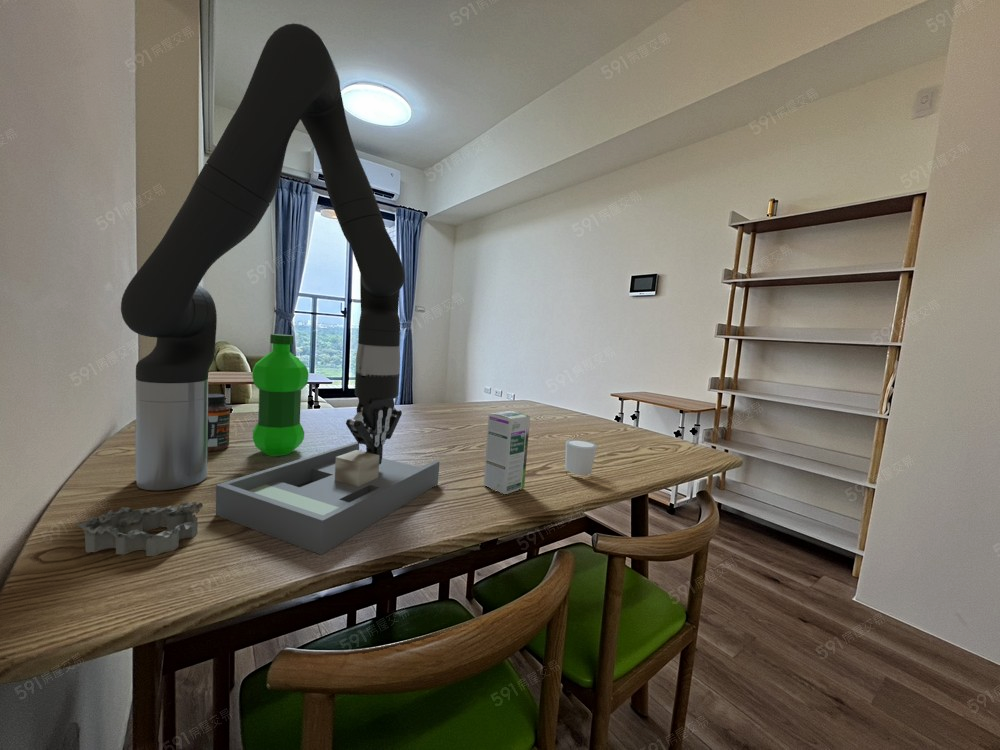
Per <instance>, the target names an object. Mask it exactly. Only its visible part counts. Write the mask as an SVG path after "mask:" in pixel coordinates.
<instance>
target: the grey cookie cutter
mask: <svg viewBox="0 0 1000 750" xmlns="http://www.w3.org/2000/svg"><path fill="white" fill-rule="evenodd" d="M203 507H204V505H203V503H202V502H198V503H197V502H196V501H193V502H188V501H186V502H183V503H182V502H181V503H180V504H179V505H178V506H174V505H168V506H166V507H161V508H160V507H156V506H153V507H146V508H144V507H143V508H137V509H135V510H133V509H132V507H128V506H127V507H126V506H125V507H124V506H121V507H120V508H119V509H118V511H116V512H115V511H114V509H110V510H108V512H107V513H102V514H99V515H98V516H95V517H93V516H92V517H90V518H89V520H87V521H84V522H77V523H75V525H76V526H78V527H79V528H80V529H82V530H84V546H85V547H84V548H85V553H90V552H94V553H97V552H100V551H103V550H106V549H115V555H127V554H129V553H131V552H135V551H141V550H142V551H143V550H144V551H145V556H146V557H147V556H148V557H155V556H157V555H159V554H163V553H167V552H173V551H175V550H177V549H178V548H180V546H179V545H180V543H179V542H180V540H183V539H186V538H193V537H195V536H196V535H198V533H199V532H198V531H199V530H198V517H197V516H196V514H198V513H199V512H200V510H202V509H203ZM158 528H166V530H163V531H162V532H158V533H157V534H150V533H148V532H147V531H148V530H149V531H150V530H155V529H158ZM145 530H146V531H145Z"/></svg>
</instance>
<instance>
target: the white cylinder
mask: <svg viewBox="0 0 1000 750" xmlns="http://www.w3.org/2000/svg"><path fill="white" fill-rule="evenodd" d="M597 447H598V445H597V444H596V443H594V442H591V441H588V440H582V439H567V440H566V441H565V449H564V450H565V453H564V454H565V456H564V457H565V458H564V459H565V461H564V470H565V469H566V470H567V471H569V472H571V473H574V474H578V475H588V474H591V475H592V472H593V466H594V462H595V457H596V454H597Z"/></svg>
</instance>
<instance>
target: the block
mask: <svg viewBox="0 0 1000 750" xmlns="http://www.w3.org/2000/svg"><path fill="white" fill-rule="evenodd" d="M379 456H380V455H376V454H372V453H368V452H366V451H363V450H360V449H359V450H355V451H352V452H349V453H346V454H343V455H340V456H337V457H336V463H335V480H336V481H340V482H343V483H347V484H351V485H355V486H358V487H359V486H361V485H363V484H365V483H367V482H370V481H372V480H374V479H376V478H378V473H379Z"/></svg>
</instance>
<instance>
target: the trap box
mask: <svg viewBox="0 0 1000 750" xmlns="http://www.w3.org/2000/svg"><path fill="white" fill-rule="evenodd" d="M355 450H359V451H360V444H359V443H358V442H357V441H354V442H352V443H348V444H345V445H342V446H338V447H335V448H332V449H329V450H324V451H321V452H319V453H316V454H315V453H314V454H312V455H309V456H306V457H302V458H299V459H295V460H292V461H289V462H287V463H283V464H280V465H279V464H278V465H277V466H273V467H270V468H266V469H263V470H260V471H257V472H256V471H255V472H254V473H250V474H247V475H243V476H241V477H237V478H234V479H231V480H227V481H224V482H221V483H217V484H216V485H215V516H218V517H219V518H223V519H225V520H227V521H230V522H233V523H236V524H239V525H241V526H245V527H247V528H249V529H252V530H254V531H258V532H260V533H263V534H265V535H268V536H269V537H272V538H275V539H279V540H281V541H284V542H286V543H290V544H292V545H294V546H296V547H299V548H302V549H305V550H308V551H310V552H313V553H315V554H317V555H320V556H322V555H323V554H325V553H327V552H328V551H330V550H332V549H333V548H335V547H337V546H338V545H340V544H342V543H343V542H346V541H347V540H348V539H350V538H351V537H353V536H355V535H356V534H358V533H360V532H361V531H363V530H365V529H366V528H368V527H370V526H372V525H373V524H375V523H376V522H378V521H380V520H381V519H383V518H385V517H387V516H388V515H390V514H392V513H393V512H395V511H397V510H399V509H400V508H401V507H403V506H405V505H406V504H409V503H410V502H412V501H413V500H414V499H416V498H418V497H420V496H421V495H423V494H425V493H427V492H428V491H430V490H431V489H433V488H434V486H435V485H436V486H438V485H439V473H440V460H439V461H438V460H433V461H431V462H428V463H426V464H425V465H423V466H421V467H420V466H418V465H417V466H416V465H414V464H413V465H412V464H408V463H403V462H400V461H396V460H391V459H388V458H383V457H382V462H381V464H380V465H379V473H378V478H376V479H374V480H372V481H370V482H367V483H365V484H363V485H361V486H359V487H358V486H355V485H351V484H347V483H343V482H340V481H336V480H335V463H336V457H337V456H340V455H343V454H346V453H349V452H352V451H355ZM437 484H438V485H437ZM436 486H435V487H436ZM432 487H433V488H432ZM429 489H430V490H429ZM427 490H428V491H427ZM424 492H425V493H424ZM419 495H420V496H419Z"/></svg>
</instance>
